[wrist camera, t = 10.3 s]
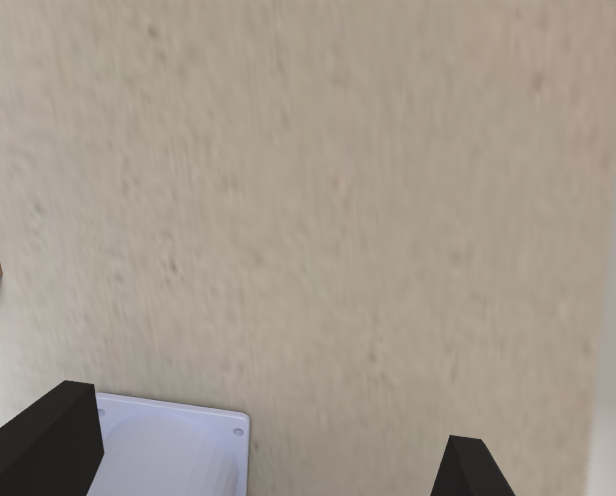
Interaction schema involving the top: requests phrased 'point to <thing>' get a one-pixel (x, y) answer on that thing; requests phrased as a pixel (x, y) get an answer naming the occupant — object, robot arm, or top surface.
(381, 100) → the top surface
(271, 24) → the top surface
